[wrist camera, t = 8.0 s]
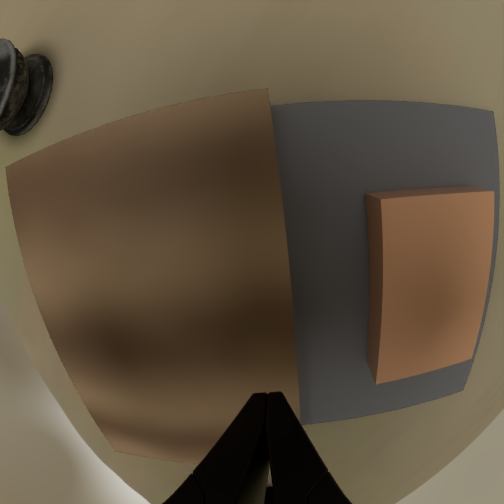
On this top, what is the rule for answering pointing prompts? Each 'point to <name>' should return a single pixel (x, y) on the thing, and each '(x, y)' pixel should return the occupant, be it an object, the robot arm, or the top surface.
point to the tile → (426, 277)
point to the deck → (163, 269)
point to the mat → (364, 233)
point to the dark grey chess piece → (22, 88)
